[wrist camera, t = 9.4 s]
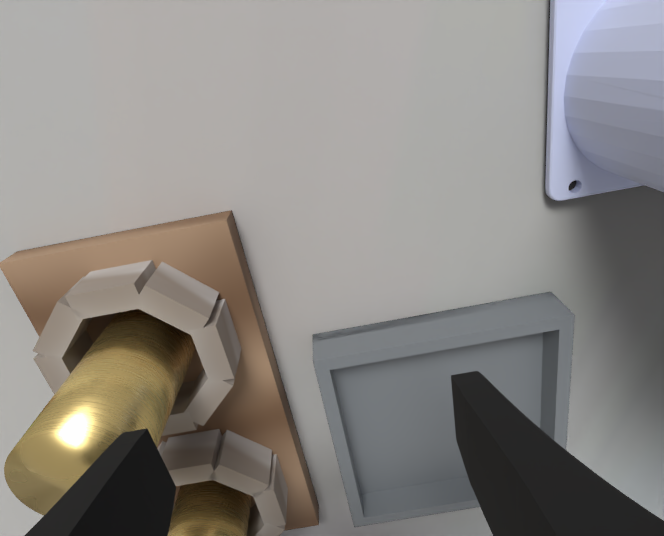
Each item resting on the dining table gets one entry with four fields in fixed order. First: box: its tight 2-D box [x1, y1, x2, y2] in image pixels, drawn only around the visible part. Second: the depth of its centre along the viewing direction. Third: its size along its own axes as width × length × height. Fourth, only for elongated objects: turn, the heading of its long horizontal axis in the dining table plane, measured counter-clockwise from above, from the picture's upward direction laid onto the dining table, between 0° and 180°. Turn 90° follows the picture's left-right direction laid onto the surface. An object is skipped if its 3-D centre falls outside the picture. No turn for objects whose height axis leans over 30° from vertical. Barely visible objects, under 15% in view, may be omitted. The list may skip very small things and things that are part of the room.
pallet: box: [0, 210, 319, 536], centre depth 20 cm, size 18×9×3 cm, turn 11°
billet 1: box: [4, 309, 196, 515], centre depth 16 cm, size 4×4×7 cm
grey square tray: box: [313, 292, 575, 527], centre depth 22 cm, size 11×11×2 cm
